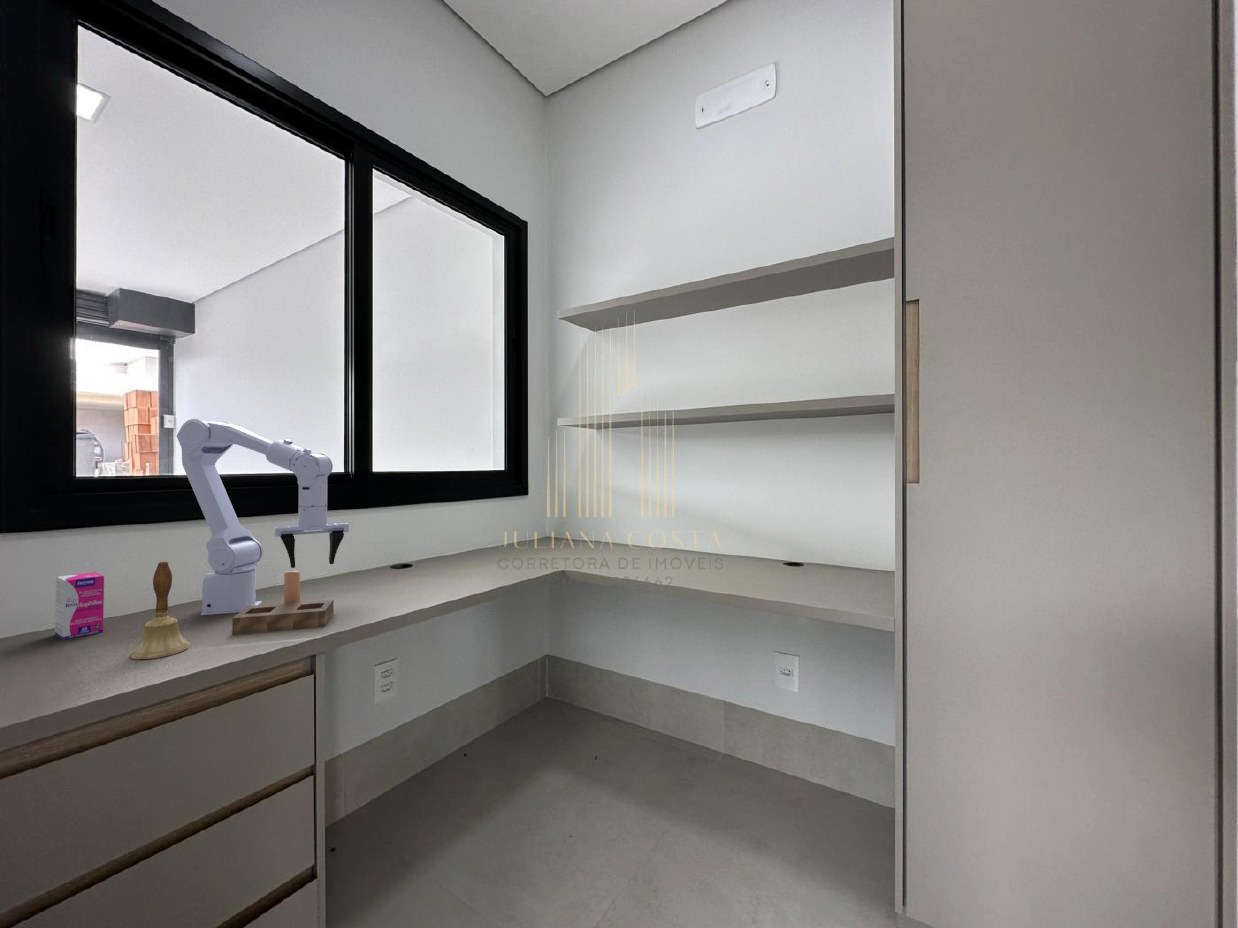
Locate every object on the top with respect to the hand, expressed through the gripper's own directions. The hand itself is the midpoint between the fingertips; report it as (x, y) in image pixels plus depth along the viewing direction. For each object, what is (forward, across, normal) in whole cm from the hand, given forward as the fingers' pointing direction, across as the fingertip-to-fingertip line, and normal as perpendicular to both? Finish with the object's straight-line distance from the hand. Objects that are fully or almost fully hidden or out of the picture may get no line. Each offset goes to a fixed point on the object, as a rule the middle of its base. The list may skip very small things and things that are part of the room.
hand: (312, 565), depth 119 cm
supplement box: (+11, -39, +8) cm, 41 cm away
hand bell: (+11, -25, -14) cm, 31 cm away
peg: (+10, -4, -1) cm, 11 cm away
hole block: (+10, -6, -10) cm, 15 cm away
